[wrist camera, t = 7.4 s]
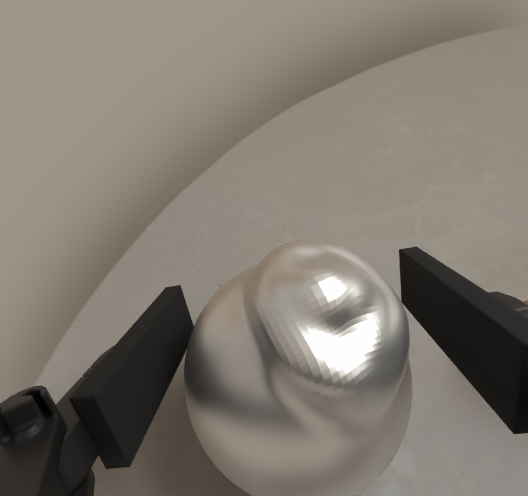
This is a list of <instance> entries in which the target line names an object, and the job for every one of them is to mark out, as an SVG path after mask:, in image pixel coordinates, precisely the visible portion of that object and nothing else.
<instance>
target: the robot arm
mask: <svg viewBox="0 0 528 496" xmlns="http://www.w3.org/2000/svg"><path fill="white" fill-rule="evenodd" d="M399 258H400V279H401V300H402V303H403V304H404V306H405V307H406V308H407V309H408V310H409V311H410V313H411V314H412V315H413V316H414V317H415V319H416V320H417V321H418V322H419V323H420V324H421V326H422V327H423V328H424V329H425V330H426V331H427V333H428V334H429V335H430V336H431V337H432V339H433V340H434V341H435V342H436V343H437V344H438V346H439V347H440V348H441V349H442V350H443V351H444V353H445V354H446V355H447V356H448V357H449V358H450V360H451V361H452V362H453V363H454V364H455V366H456V367H457V368H458V369H459V370H460V371H461V373H462V374H463V375H464V376H465V377H466V378H467V380H468V381H469V382H470V383H471V384H472V385H473V387H474V388H475V389H476V390H477V391H478V393H479V394H480V395H481V396H482V397H483V398H484V400H485V401H486V402H487V403H488V404H489V405H490V407H491V408H492V409H493V410H494V411H495V412H496V414H497V415H498V416H499V417H500V418H501V420H502V421H503V422H504V423H505V424H506V425H507V427H508V428H509V429H510V430H511V431H512V432H513V434H521V433H528V305H527V304H525V303H524V302H522V301H520V300H518V299H517V298H514V297H511V296H509V295H506V294H503V293H500V292H490V293H488V292H486V291H485V290H483V289H482V288H480V287H478V286H477V285H475V284H474V283H472V282H471V281H469V280H468V279H466V278H464V277H463V276H461V275H460V274H458V273H457V272H455V271H454V270H452V269H450V268H449V267H447V266H446V265H444V264H443V263H441V262H440V261H438V260H436V259H435V258H433V257H432V256H430V255H429V254H427V253H426V252H424V251H422V250H421V249H419V248H418V247H412V248H406V249H399ZM193 328H194V326H193V323H192V320H191V317H190V313H189V310H188V307H187V304H186V301H185V298H184V295H183V292H182V289H181V286H180V285H178V286H172V287H166V288H165V289H164V290H163V291H162V293H161V294H160V295H159V296H158V297H157V298H156V299H155V301H154V302H153V303H152V304H151V305H150V306H149V307H148V309H147V310H146V311H145V312H144V313H143V314H142V315H141V316H140V318H139V319H138V320H137V321H136V322H135V323H134V324H133V326H132V327H131V328H130V329H129V330H128V331H127V332H126V334H125V335H124V336H123V337H122V338H121V339H120V340H119V342H118V343H117V344H116V345H115V346H113V347H112V348H110V349H109V350H108V351H106V352H105V353H104V354H102V355H101V356H100V357H99V358H98V359H97V360H96V361H95V362H94V364H93V365H92V366H91V368H89V369H88V370H87V371H86V372H85V373H84V375H83V377H81V378H80V379H79V380H78V381H77V382H76V383H75V385H74V386H73V387H72V388H71V389H70V390H69V391H68V392H67V393H66V394H65V396H64V397H63V398H62V399H61V400H60V401H59V402H58V403H57V404H56V405H55V403H54V401H53V400H52V398H51V396H50V394H49V392H48V391H47V389H46V388H45V387H43V386H34V387H31V388H28V389H25V390H22V391H21V392H18V393H17V394H15V395H13V396H11V397H9V398H8V399H6V400H5V401H3V402H2V403H0V496H94V485H95V477H94V473H93V471H92V469H91V467H92V465H93V463H94V462H95V460H96V459H97V457H98V455H99V456H100V458H101V460H102V462H103V464H104V466H105V468H106V469H110V468H122V467H130V465H131V463H132V461H133V459H134V457H135V455H136V453H137V451H138V449H139V447H140V445H141V442H142V440H143V438H144V436H145V434H146V432H147V430H148V428H149V426H150V424H151V422H152V420H153V418H154V416H155V414H156V411H157V409H158V407H159V405H160V403H161V401H162V399H163V397H164V395H165V393H166V391H167V389H168V387H169V385H170V383H171V381H172V378H173V376H174V374H175V372H176V370H177V368H178V366H179V364H180V362H181V360H182V358H183V356H184V354H185V352H186V350H187V347H188V343H189V340H190V337H191V334H192V331H193Z"/></svg>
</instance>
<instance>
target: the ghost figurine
mask: <svg viewBox="0 0 528 496" xmlns="http://www.w3.org/2000/svg"><path fill="white" fill-rule="evenodd" d="M408 355H409V324H408V319H407V315H406V312H405V310H404V307H403V305H402V303H401V301H400V299H399V297H398V296H397V294H396V292H395V291H394V290H393V288H392V287H391V286H390V285H389V283H388V282H387V281H386V280H385V279H384V278H383V277H382V276H381V275H380V274H379V273H378V272H377V271H376V270H375V269H374V268H372V267H371V266H370V265H369V264H368V263H366V262H365V261H364V260H363V259H361V258H360V257H359V256H357V255H356V254H354V253H353V252H351V251H349V250H347V249H345V248H343V247H341V246H338V245H335V244H331V243H327V242H320V241H297V242H291V243H287V244H284V245H282V246H280V247H278V248H276V249H275V250H273V251H272V252H271V253H269V254H268V255H267V256H266V257H265V258H264V259H263V260H262V261H261V262H260V264H259V265H256V266H254V267H251V268H249V269H247V270H245V271H243V272H241V273H240V274H238V275H236V276H235V277H233V278H232V279H231V280H229V281H228V282H227V283H226V284H224V285H223V286H222V287H221V288H220V289H219V290H218V291H217V292H216V293H215V294H214V296H213V297H212V298H211V299H210V300H209V302H208V303H207V305H206V306H205V307H204V309H203V311H202V312H201V314H200V316H199V318H198V320H197V322H196V324H195V326H194V328H193V331H192V334H191V337H190V340H189V343H188V347H187V352H186V358H185V366H184V389H185V398H186V404H187V408H188V413H189V416H190V420H191V423H192V425H193V428H194V431H195V433H196V435H197V437H198V439H199V441H200V443H201V445H202V447H203V449H204V450H205V452H206V453H207V455H208V456H209V458H210V459H211V460H212V462H213V463H214V464H215V465H216V467H217V468H218V469H219V470H220V471H221V472H222V473H223V474H224V475H225V476H226V477H227V478H228V479H229V480H230V481H231V482H233V483H234V484H235V485H236V486H238V487H239V488H241V489H242V490H244V491H245V492H247V493H248V494H250V495H252V496H354V495H356V494H358V493H359V492H361V491H362V490H364V489H365V488H366V487H368V486H369V485H370V484H371V483H372V482H374V481H375V480H376V479H377V478H378V477H379V476H380V475H381V474H382V472H383V471H384V470H385V469H386V468H387V466H388V465H389V464H390V462H391V461H392V459H393V457H394V456H395V454H396V452H397V451H398V449H399V447H400V444H401V442H402V440H403V437H404V435H405V432H406V429H407V425H408V422H409V417H410V412H411V404H412V375H411V368H410V362H409V358H408Z"/></svg>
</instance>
